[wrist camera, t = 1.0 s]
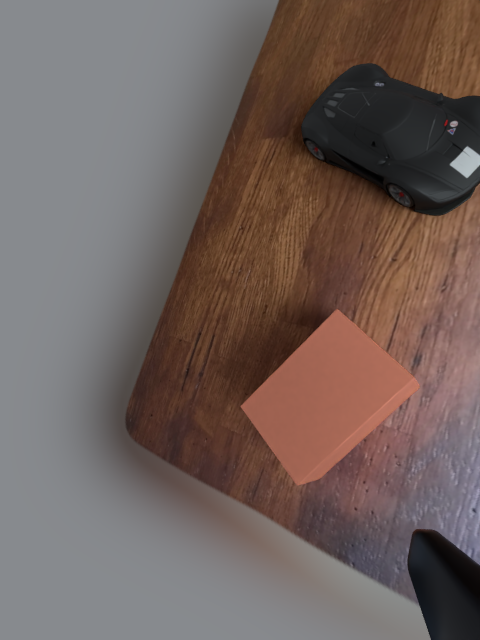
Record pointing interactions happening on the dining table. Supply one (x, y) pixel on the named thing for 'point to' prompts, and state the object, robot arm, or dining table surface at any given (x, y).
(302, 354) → the coral block
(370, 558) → the dining table surface
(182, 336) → the dining table surface
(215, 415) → the dining table surface
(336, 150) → the toy car
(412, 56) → the dining table surface
